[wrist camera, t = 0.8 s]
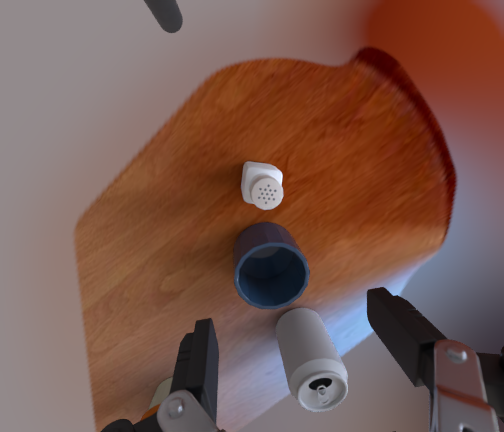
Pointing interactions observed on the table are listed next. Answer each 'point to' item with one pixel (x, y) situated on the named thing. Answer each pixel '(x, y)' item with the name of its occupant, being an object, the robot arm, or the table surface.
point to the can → (311, 361)
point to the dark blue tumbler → (269, 266)
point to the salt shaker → (261, 185)
